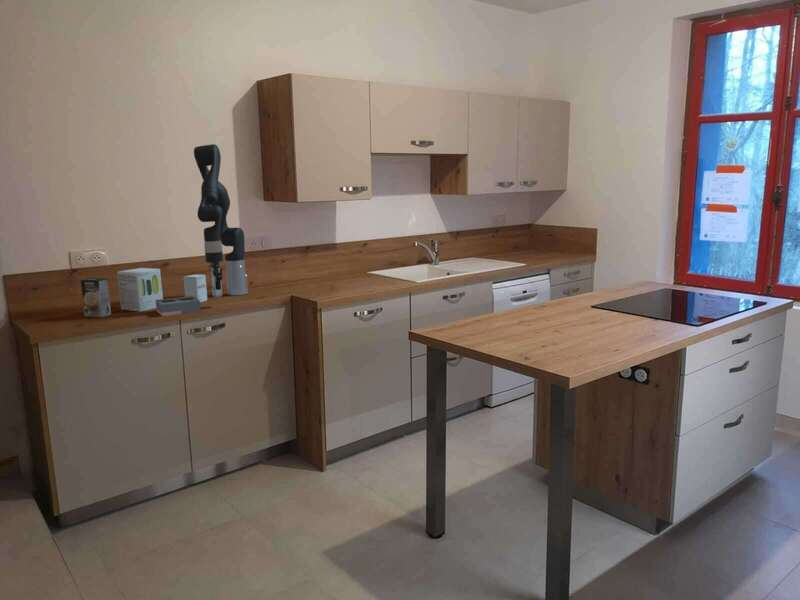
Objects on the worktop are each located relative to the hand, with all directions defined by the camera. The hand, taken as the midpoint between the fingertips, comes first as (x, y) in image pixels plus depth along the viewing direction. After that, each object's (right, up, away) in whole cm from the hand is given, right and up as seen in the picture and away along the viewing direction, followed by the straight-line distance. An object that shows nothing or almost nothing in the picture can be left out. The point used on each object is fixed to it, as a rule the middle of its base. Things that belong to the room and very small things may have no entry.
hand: (217, 288), depth 285 cm
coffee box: (-48, -12, -11) cm, 51 cm away
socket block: (-15, -10, -7) cm, 19 cm away
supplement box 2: (-14, -6, +15) cm, 21 cm away
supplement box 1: (-35, -9, +3) cm, 36 cm away
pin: (0, -3, +1) cm, 3 cm away
